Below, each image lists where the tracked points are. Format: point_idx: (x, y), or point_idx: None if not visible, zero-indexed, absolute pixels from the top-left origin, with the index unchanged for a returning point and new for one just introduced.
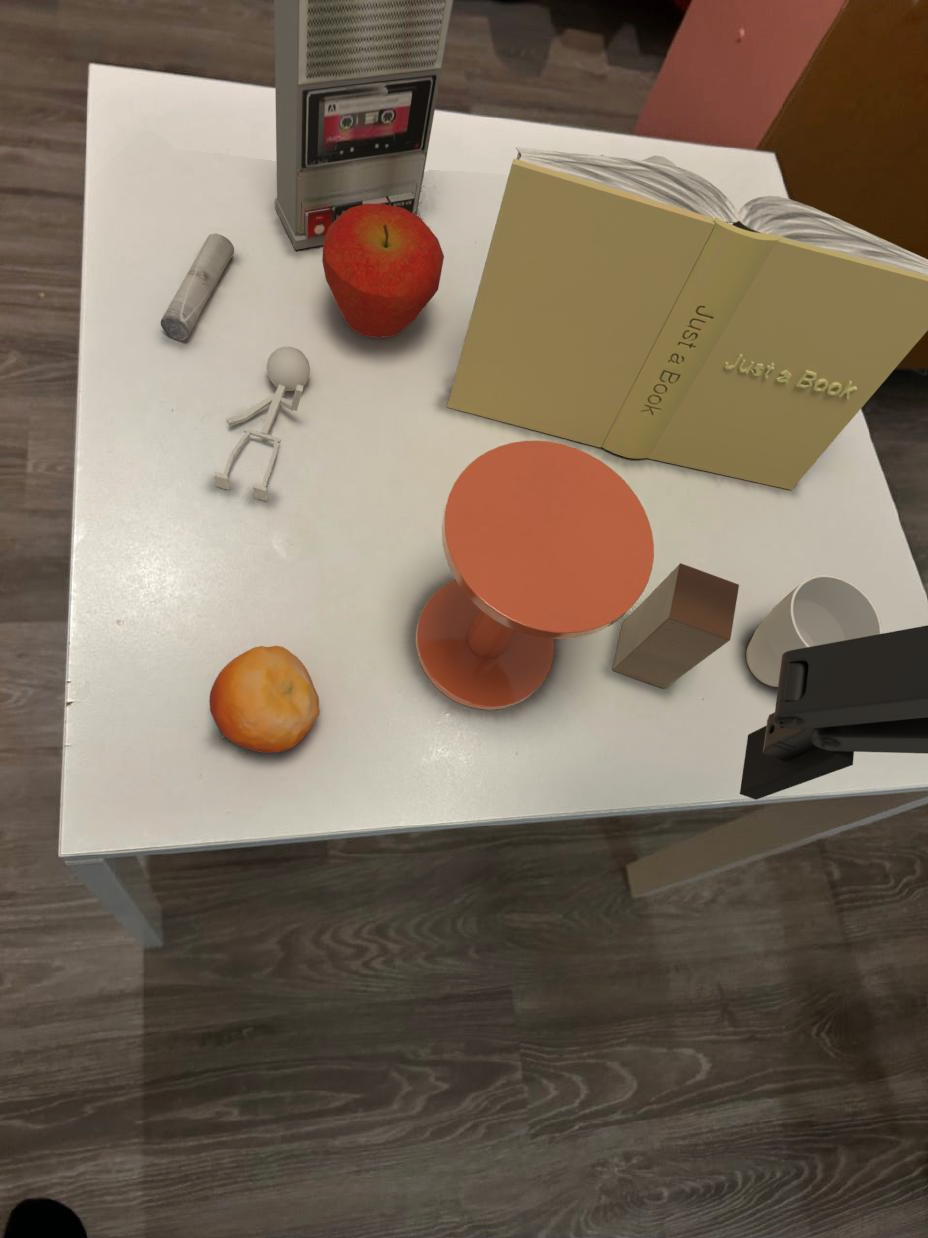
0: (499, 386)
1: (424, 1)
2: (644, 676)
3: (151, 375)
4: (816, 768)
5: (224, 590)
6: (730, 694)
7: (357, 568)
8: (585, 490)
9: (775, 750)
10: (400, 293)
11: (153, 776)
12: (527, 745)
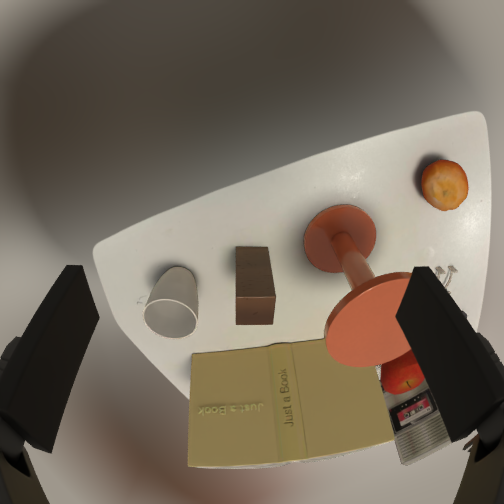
0: None
1: (409, 451)
2: (251, 250)
3: (468, 295)
4: (489, 362)
5: (450, 225)
6: (197, 255)
7: (401, 253)
8: (364, 352)
9: (485, 346)
10: (402, 369)
11: (467, 140)
12: (309, 193)
